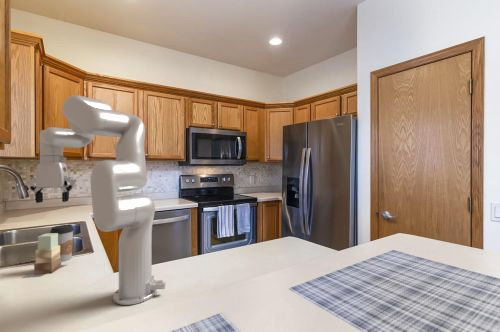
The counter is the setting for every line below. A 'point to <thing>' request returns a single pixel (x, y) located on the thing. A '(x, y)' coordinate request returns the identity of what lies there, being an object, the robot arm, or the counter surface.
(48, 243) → the sage block
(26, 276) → the flat square pad
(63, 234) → the coffee cup
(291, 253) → the counter surface
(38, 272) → the walnut block
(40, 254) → the maple block
